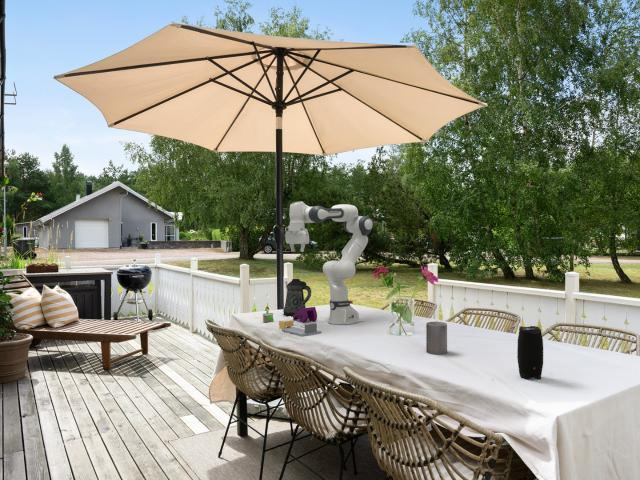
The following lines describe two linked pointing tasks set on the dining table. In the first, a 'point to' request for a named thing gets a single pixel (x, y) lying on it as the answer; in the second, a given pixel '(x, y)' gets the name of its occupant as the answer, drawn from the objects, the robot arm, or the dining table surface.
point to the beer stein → (296, 297)
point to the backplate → (303, 330)
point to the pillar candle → (436, 338)
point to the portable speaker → (530, 352)
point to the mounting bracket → (306, 314)
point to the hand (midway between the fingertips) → (297, 251)
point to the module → (286, 324)
